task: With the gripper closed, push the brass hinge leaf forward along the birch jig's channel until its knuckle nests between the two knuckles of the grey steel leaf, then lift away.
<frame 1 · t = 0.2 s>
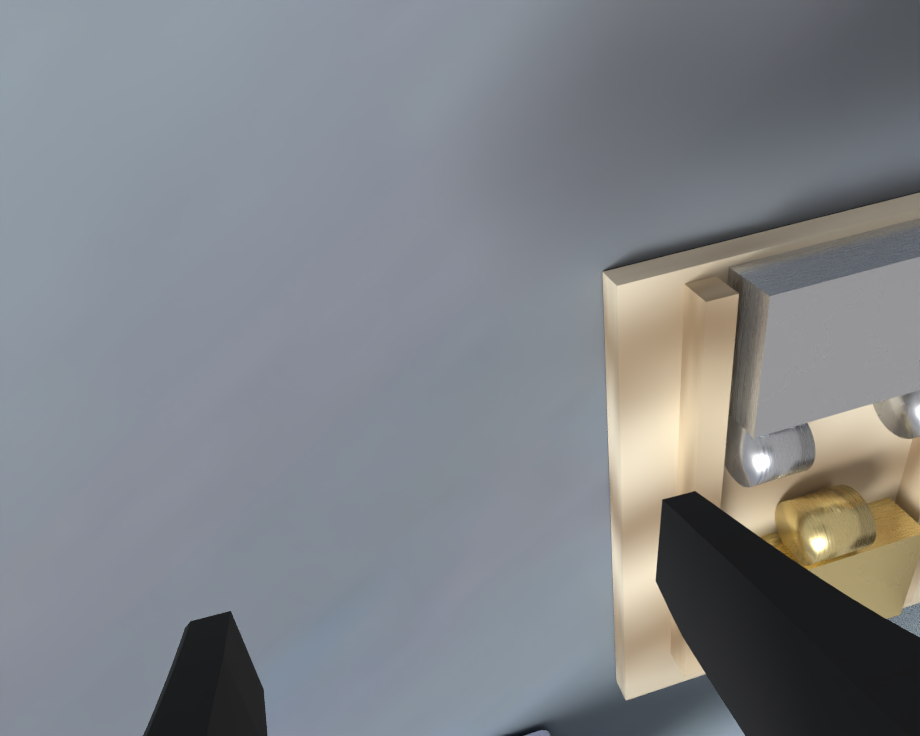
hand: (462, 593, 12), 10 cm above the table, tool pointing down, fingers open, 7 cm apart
jig board: (790, 467, 28), on the table
steel leaf: (821, 400, 25), resting on jig board
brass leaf: (803, 502, 27), point 1 cm above the table, touching jig board
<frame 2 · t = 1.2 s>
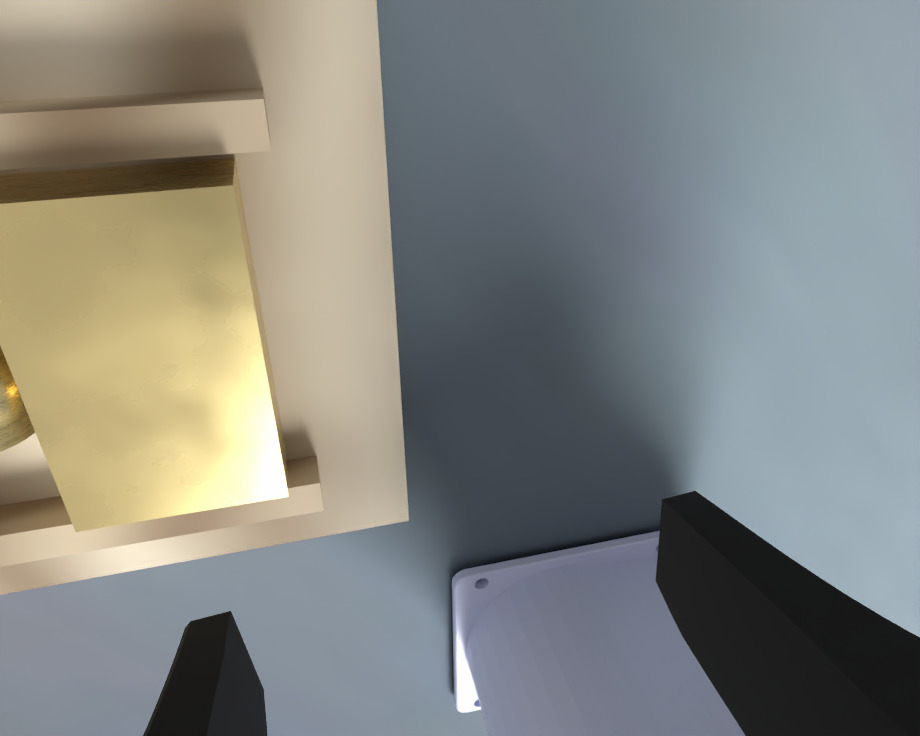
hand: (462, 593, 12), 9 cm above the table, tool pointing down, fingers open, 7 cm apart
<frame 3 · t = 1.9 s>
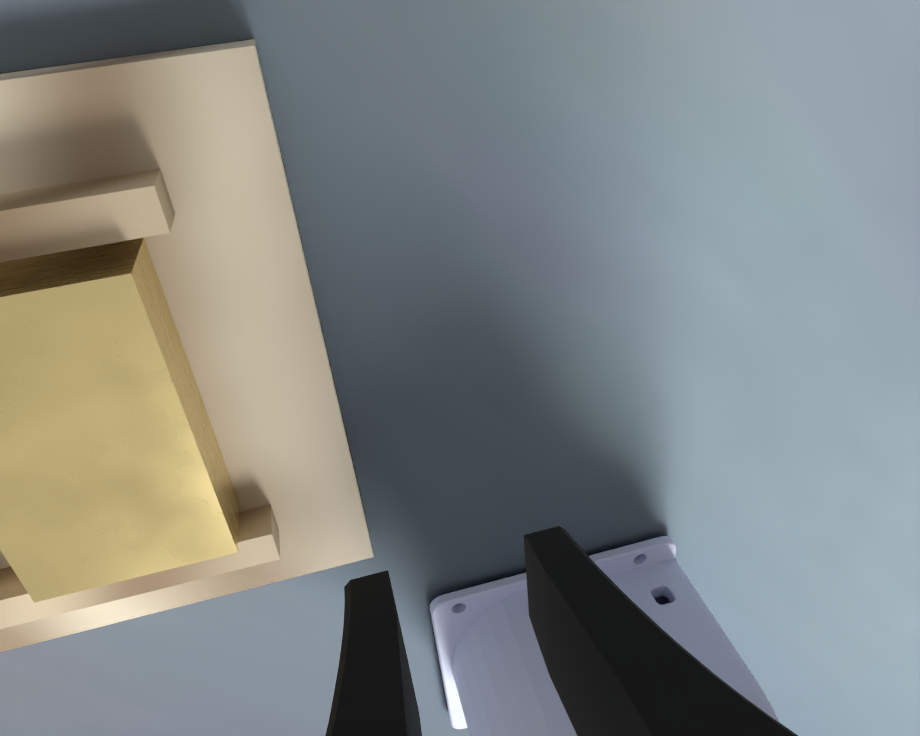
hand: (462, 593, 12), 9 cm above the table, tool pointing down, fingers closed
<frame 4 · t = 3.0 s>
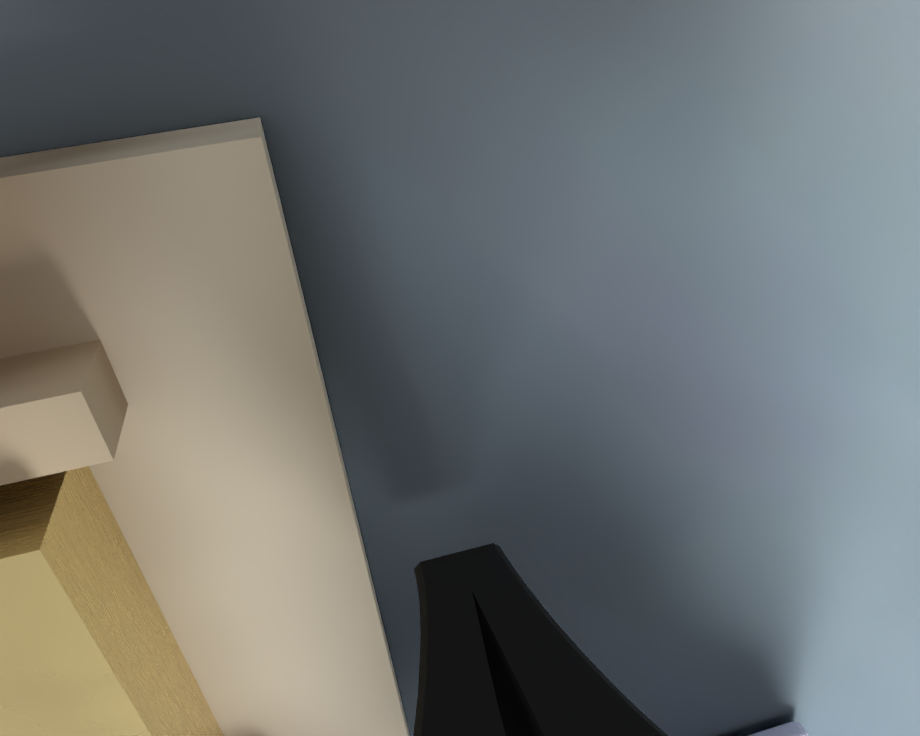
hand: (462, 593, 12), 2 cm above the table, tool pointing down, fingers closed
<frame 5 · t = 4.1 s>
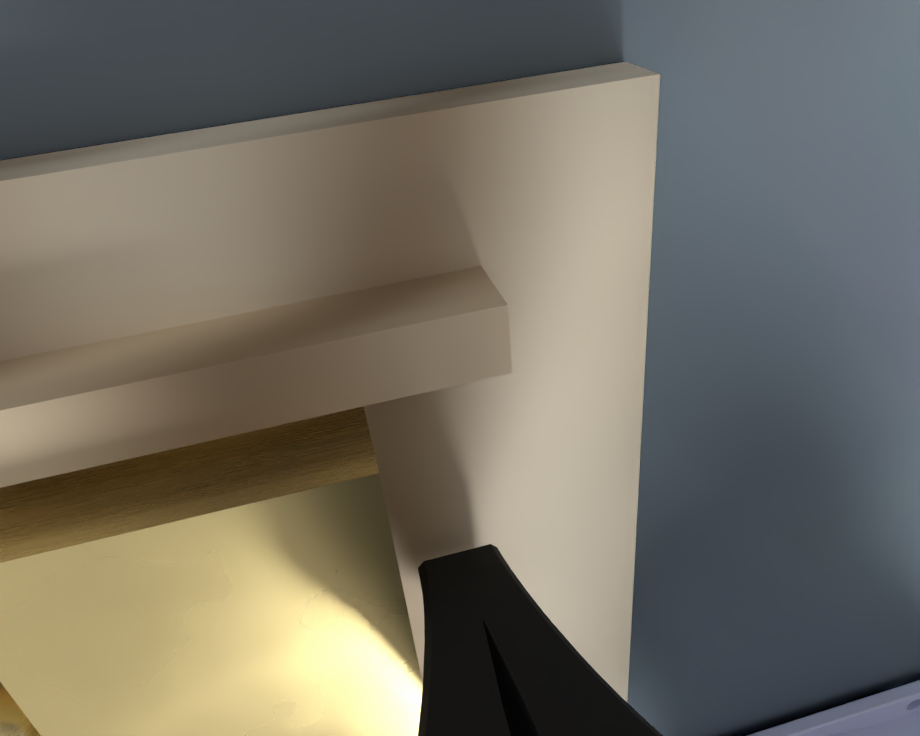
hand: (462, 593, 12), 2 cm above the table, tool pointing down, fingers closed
jig board: (43, 619, 12), on the table
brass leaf: (17, 673, 11), point 1 cm above the table, touching gripper
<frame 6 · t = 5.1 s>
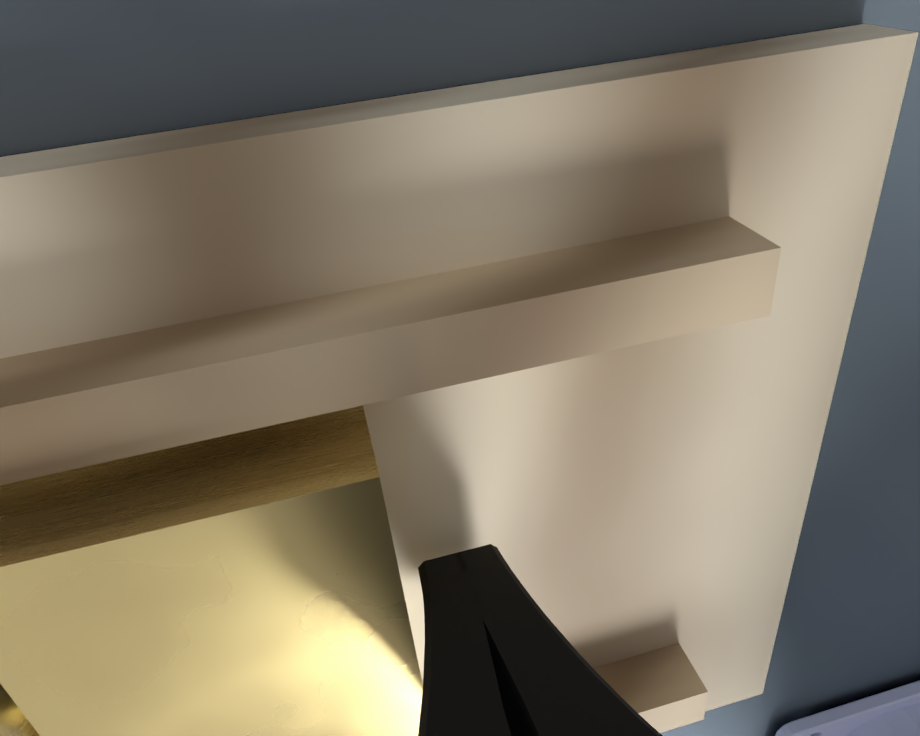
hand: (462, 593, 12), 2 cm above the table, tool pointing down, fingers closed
jig board: (258, 563, 13), on the table
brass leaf: (18, 675, 11), point 1 cm above the table, touching gripper, jig board
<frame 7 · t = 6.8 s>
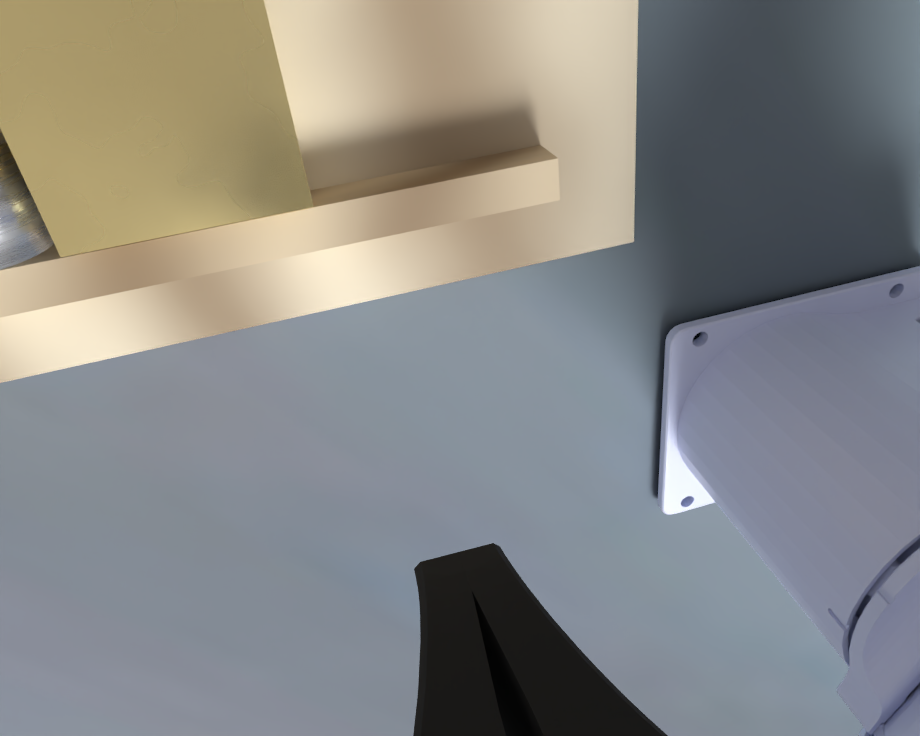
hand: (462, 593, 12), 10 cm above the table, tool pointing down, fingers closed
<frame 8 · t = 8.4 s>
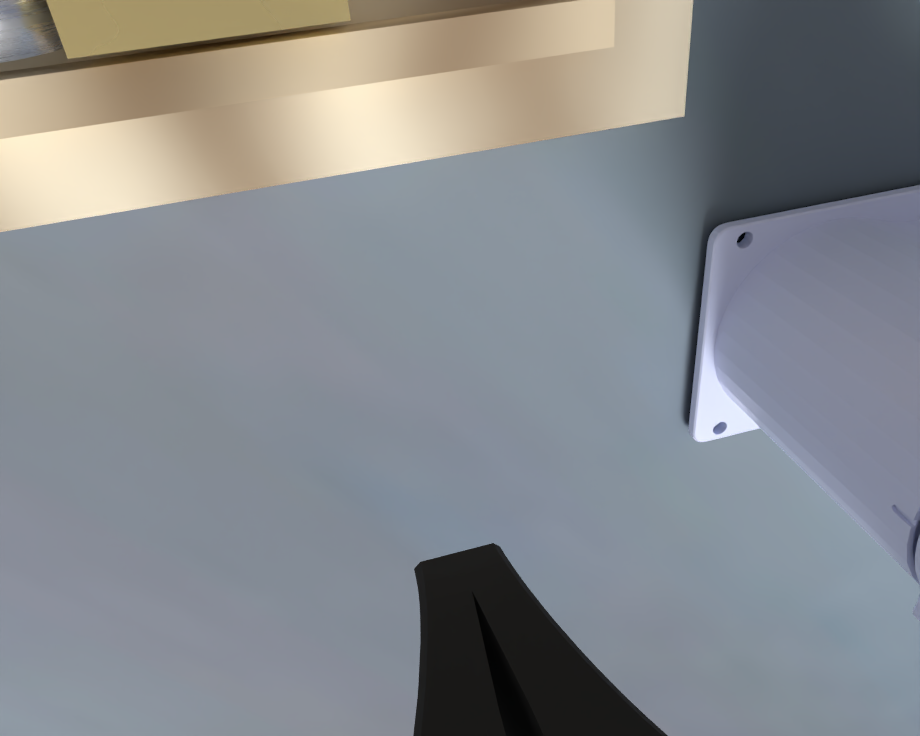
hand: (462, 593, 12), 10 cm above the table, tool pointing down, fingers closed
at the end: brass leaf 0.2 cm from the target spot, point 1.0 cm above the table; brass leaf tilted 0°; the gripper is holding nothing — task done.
